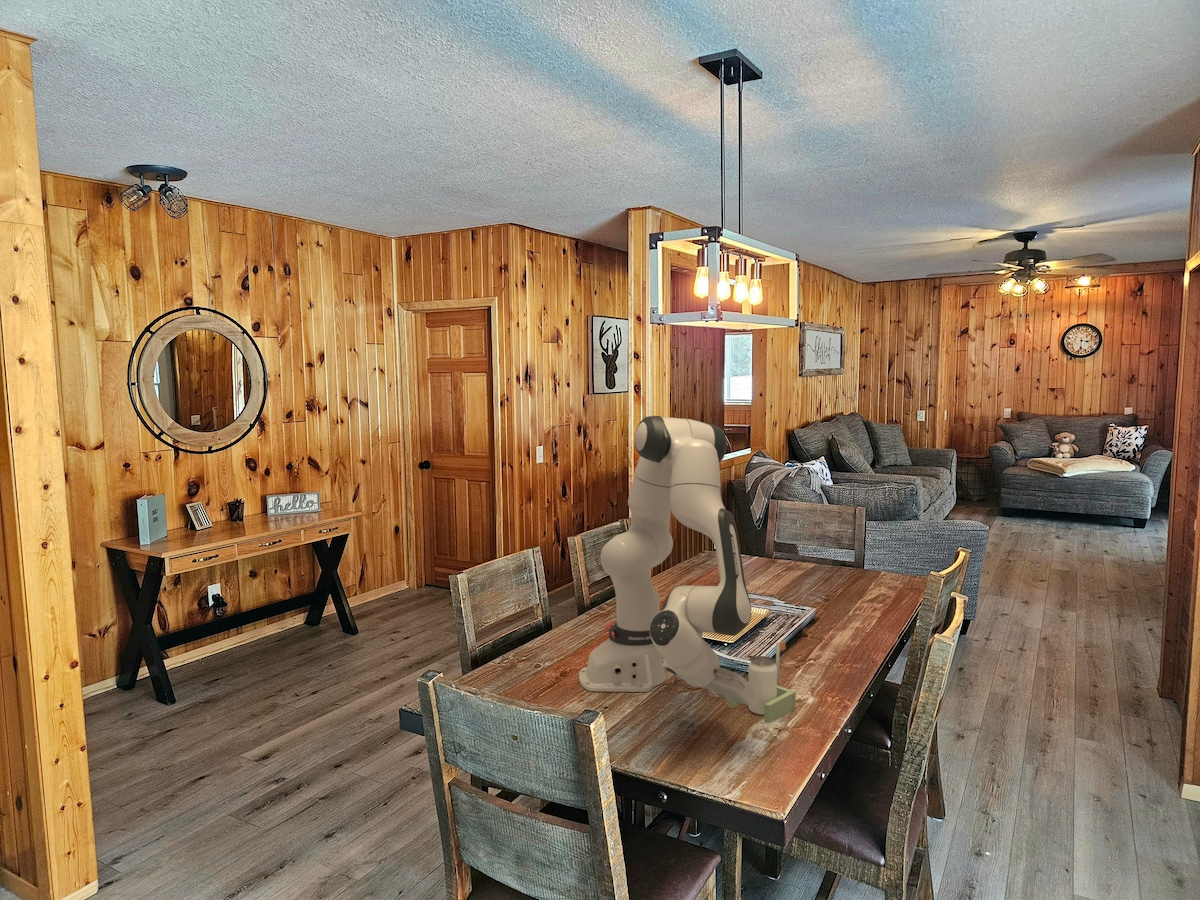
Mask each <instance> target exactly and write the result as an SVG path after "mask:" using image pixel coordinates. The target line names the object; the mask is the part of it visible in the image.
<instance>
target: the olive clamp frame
mask: <svg viewBox="0 0 1200 900" xmlns="http://www.w3.org/2000/svg"><path fill="white" fill-rule="evenodd" d="M786 642H787V641H786V640H783V641H780V642H776V643H775V664H776V667H777V698H775V699H773V700H771V701H770V702H768V703H766V704H765V711H764V715H763V718H764V722H765V723H771V722H772V721H774V720H776V719H778V718H780V717H782V716H784V715H786V714H787V713H789V712H791V711H793V710H795V709H796V706H797V705H796V703H797V700H796V698H797V692H796V691H795V690H792V689H788V688H786V687H783V686H780V655H781V654H780V652H782V651H784V650H786ZM740 705H743V703H741V702H738V701H736V700H733V699H731V698H730V699H729V700H727V708H730V709H735V708H736V707H738V706H740ZM794 708H795V709H794Z"/></svg>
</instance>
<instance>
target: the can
mask: <svg viewBox="0 0 1200 900" xmlns="http://www.w3.org/2000/svg"><path fill="white" fill-rule="evenodd" d="M747 682H748V683H749V684H750V685H751V686H752V687H753V688H754V689H755V694H754V697H753V699H752V701H751V702H750V703H749V704H748V705H747V707H748V708H747V709H748V710H749V711H750V712H751V713H752V714H754V715H759V716H764V711H765V704H766V703H768V702H770V701H771V700H773V699H775V698H777V667H776V659H774V658H773V657H771V656H764V655H757V656H753V657H751V658H750V662H749V664H748V680H747Z"/></svg>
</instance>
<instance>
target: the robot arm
mask: <svg viewBox="0 0 1200 900" xmlns="http://www.w3.org/2000/svg"><path fill="white" fill-rule="evenodd" d="M727 440H728V439H727V437H726V433H725V432H724V429H722V428H721V427H720V426H718V425H715V424H714V423H713V424H712V423H710V422H707V423H705V422H702V421H699V420H695V419H691V418H677V417H663V416H660V415H650V416H649V415H648V416H645V417H643V419H641V420H640V421H639V423H638V425H637V427H636V431H635V435H634V447H635V451H636V452H637V454H638V455H639V458H638V460H637V464H636V467H635V471H634V474H633V478H632V483H631V487H630V491H629V496H628V499H627V506H628V507H629V510H630V513H631V514H630V515H631V517H630V519H631V522H630V526H629V528H628V530H627V531H624V532H622V533H619V534H617V535H614V536H613V537H612V538H611V539H609V541H608V542H606V543H605V544H604V545H603V547H602V548H601V551H600V556H599V557H600V565H601V567H602V568H603V570H604V573H606V574H607V575H608V576H609V577H610V579H611V581H612V584H613V588H614V593H615V602H616V603H615V604H616V605H615V606H616V608H615V609H616V623H614V624H613V622H610V621H609V622H607V623H606V624H605V623H604V628H605V630H606V632H608V638H607V639H606V640H604V641H603V642H602V643H601V644H600V645H598V646H597V647H596V648H594V649H592V650H591V652H590V653H589V656H588V660H587V666H585V667H582V668H581V669H580V670H579V671H578V672H579V673H578V680H579V684H580V685H581V687H582V688H583V689H585V690H587V691H588V692H611V693H612V692H614V693H615V692H617V693H618V692H619V693H621V692H622V693H623V692H629V693H631V692H632V693H633V692H635V693H636V692H637V693H638V692H639V693H647V692H650V691H651V690H652V689H653V688H654V687H656V686H659V685H661V684H662V683H664V682H665V681H666V680H667V675H666V671H667V672H669V673H671V674H673V676H675V677H676V678H678V679H680V680H682V681H684V682H685V683H686V684H688V685H689V686H691V687H694V688H703V689H705V690H708V691H710V692H713V693H715V694H716V695H717V696H718V697H720V698H722V699H726V700H727V701H728V700H729V699H730V698H731V699H733V700H736V701H738V702H741V703H742V705H743V704H744V705H747V706H748V704H749V703H750V702H751V701H752V699H753V697H754V694H755V689H754V688H753V687H752V686H751V685H750V684H749V683H748V680H747V679H745V678H744V677H743V676H742V675H740V674H738V673H737V672H734V671H732V670H728V669H726V668H723V667H721V661H720V658H719V656H718V654H717V653H716V652H715V651H714V650H713V648H712V647H711V646H710V645H709V643H707V642H706V640H705V639H704V638H703V633H710V634H711V633H713V634H719V635H726V636H732V637H734V636H737V635H738V634H740V633H741V632H742V631H743V630H745V628H747V626H748V625H749V623H750V622H751V620H752V606H751V605H752V604H751V600H750V596H749V593H748V589H747V586H746V581H745V574H744V567H743V561H742V560H743V559H742V553H741V546H740V542H739V541H740V539H739V535H738V530H737V529H738V528H737V525H736V520H735V519H734V518H735V517H734V515H733V514H732V512H730V510H727V508H725V505H724V503H723V500H722V495H721V488H722V487H721V470H720V469H721V468H720V463H721V461H723V459H724V457H725V455H726V451H727V443H728V442H727ZM671 513H672V514H673V516H674V517H675V519H676V520H677V521H678V522H679V523H680V524H682V525H683V526H685V527H687V528H689V529H691V530H693V531H696V532H699V533H701V534H703V535H705V536H707V537H708V538H709V539H710V540H711V542H712V543H713V544H714V547H715V554H716V562H717V568H718V570H717V571H718V575H719V583H718V585H677V586H675V587H674V588H673V589H672V590H671V591H670V592H669V593H668V594H667V596H666V598H665V600H664V602H663V605H662V607H660V602H661V601H660V600H661V599H660V598H661V597H660V594H659V592H658V591H657V590H656V589H655V588H654V586H653V581H652V578H651V576H652V575H651V571H652V568H655V567H657V566H659V565H661V564H662V563H663V562H664V561H665V560H666V559H667V558H668V557H669V556H670V554H671V553H672V550H673V546H674V541H673V537H672V535H671V533H670V529H671V528H670V525H671V522H670V521H671ZM660 608H661V609H660ZM663 659H664V660H663ZM665 670H666V671H665Z"/></svg>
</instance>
